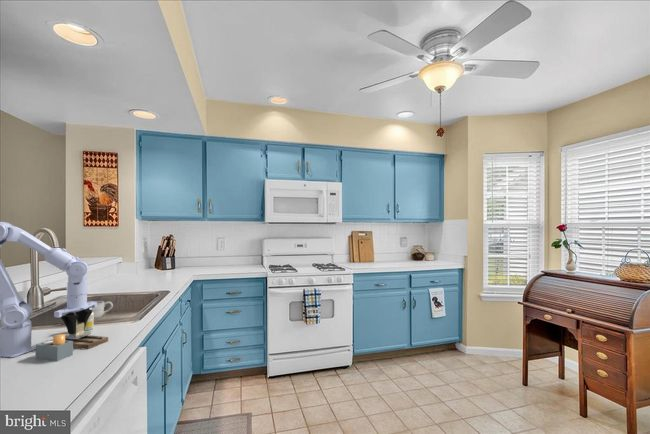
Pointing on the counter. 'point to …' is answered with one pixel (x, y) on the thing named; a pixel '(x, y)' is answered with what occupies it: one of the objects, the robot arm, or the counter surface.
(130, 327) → the counter surface
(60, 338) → the button
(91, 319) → the supplement bottle
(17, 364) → the counter surface
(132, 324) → the counter surface
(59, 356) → the gauge box
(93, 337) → the rail track
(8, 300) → the robot arm
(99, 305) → the teacup
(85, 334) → the carriage
